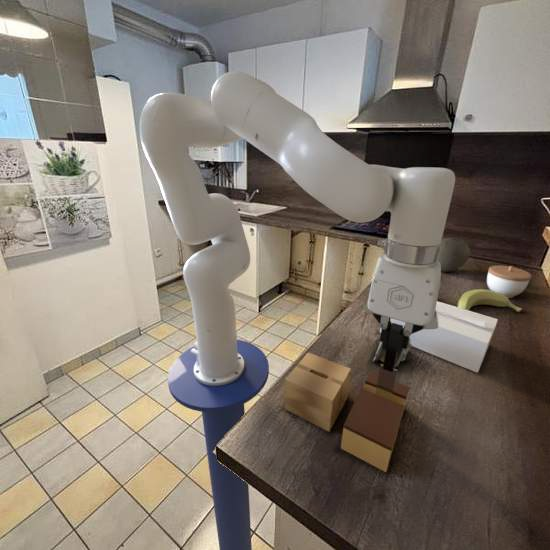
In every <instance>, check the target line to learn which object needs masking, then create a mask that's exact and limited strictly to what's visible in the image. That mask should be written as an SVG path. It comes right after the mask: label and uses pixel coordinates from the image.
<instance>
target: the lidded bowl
mask: <svg viewBox="0 0 550 550" xmlns="http://www.w3.org/2000/svg"><path fill="white" fill-rule="evenodd" d="M487 271H488V272H487V275H486V285H487V287H488V290H491V291H495V292H499V293H501V294H503V295H505V296H506V297H507V298H508V299H512V298H514V297H516V296H519V295H520V294H522V293H523V292H524V291H525V290H526V289H527V287H528V285H529V282H530V281H531V279H532V277H533V276H532V274H531V273H530V272H529V271H527V270H524V269H521V268H518V267H514V266H513V265H509V266H508V265H492V266H490V267H488V270H487Z"/></svg>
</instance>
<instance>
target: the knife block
mask: <svg viewBox="0 0 550 550" xmlns="http://www.w3.org/2000/svg"><path fill="white" fill-rule="evenodd" d="M351 374H352V368H350V367H348V366H345V365H342V364H339V363H338V362H335V361H332V360H329V359H327V358H324V357H322V356H318V355H316V354H314V353H312V352H307V353H306V354H305V355H304V356H303V358H302V359H301V360H300V361H299V362H298V363H297V365H296V366H295V367H294V368H293V370H292V371H291V372H290V373H289V374H288V375H287V376H286V378H285V379H284V381H285V382H284V410H286V411H288V412H290V413H291V414H294V415H295V416H298V417H299V418H301V419H304V421H307V422H309V423H311V424H313V425H315V426H317V427H319V428H321V429H323V430H325V431H327V432H331V429H332V428H333V426H334V424H335V422H336V421H337V418H338V417H339V414H340V413H341V411H342V409H343V407H344V405H345V403H346V401H347V399H348V396H349V388H350V381H351Z"/></svg>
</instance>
